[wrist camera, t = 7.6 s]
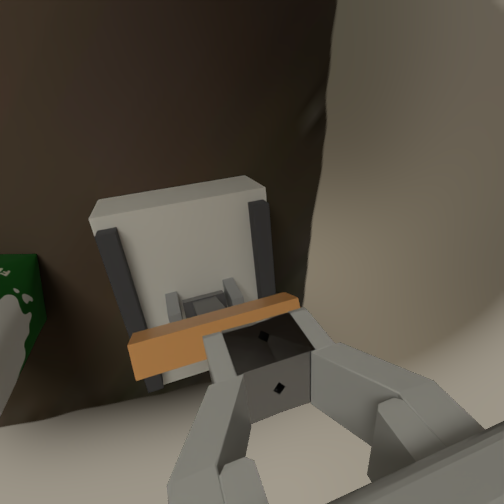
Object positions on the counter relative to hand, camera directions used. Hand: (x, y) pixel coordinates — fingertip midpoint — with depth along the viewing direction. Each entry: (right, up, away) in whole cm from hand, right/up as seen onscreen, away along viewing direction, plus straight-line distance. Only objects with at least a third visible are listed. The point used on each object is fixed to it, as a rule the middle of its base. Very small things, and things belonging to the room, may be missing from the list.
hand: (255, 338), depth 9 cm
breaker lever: (-4, -2, +18) cm, 19 cm away
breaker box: (-7, +1, +25) cm, 26 cm away
